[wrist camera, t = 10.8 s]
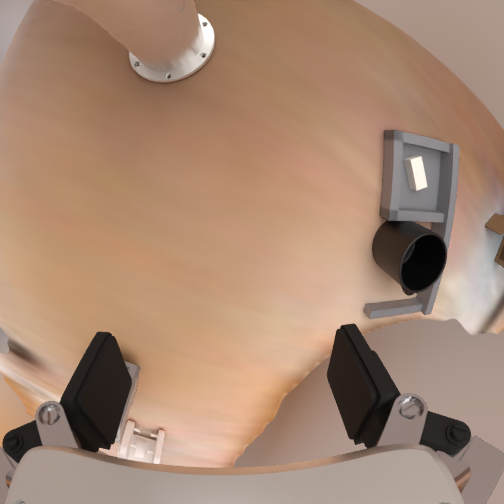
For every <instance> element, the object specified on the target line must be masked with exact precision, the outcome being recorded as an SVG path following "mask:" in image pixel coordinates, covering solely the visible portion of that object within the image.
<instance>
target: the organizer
mask: <svg viewBox="0 0 504 504" xmlns="http://www.w3.org/2000/svg"><path fill="white" fill-rule="evenodd" d="M412 156H421V157H422V161H423V166H424V171H425V176H426V182H427V187H426V188H423V189H420V190H417V191H416V190H413V189H410V187H409V182H408V177H407V172H406V167H405V163H404V159H405V158H408V157H412ZM458 169H459V145H456V144H451V143H447V142H443V141H439V140H436V139H432V138H428V137H424V136H420V135H416V134H411V133H407V132H402V131H397V130H386V131H384V161H383V181H382V195H381V207H380V216H381V217H383V218H385V219H387V220H389V221H419V222H432V228H431V231H433V232H435V233H437V234H438V235H440V236H441V237H442V239H443V240H444V242H445V244H446V248H447V251H448V247H449V241H450V236H451V230H452V224H453V218H454V211H455V203H456V194H457V183H458ZM442 273H443V272H442ZM441 277H442V274H441V276H440V277H439V279H438V280H437V281H436V283H435V284H434V285H433V286H431V287H430V288H429V289H427V290H425V291H423V292H419V293H418V294H417V298H412V299H405V300H397V301H389V302H380V303H371V304H366V305H365V309H364V312H365V314H366V315H367V316H368V318H369V319H374V318H381V317H388V316H395V315H401V314H407V313H413V312H419V311H421V312H422V313H423V314H424V315H428V314H431V311H432V308H433V305H434V302H435V299H436V295H437V292H438V288H439V285H440V281H441Z"/></svg>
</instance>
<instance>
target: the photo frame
mask: <svg viewBox="0 0 504 504" xmlns="http://www.w3.org/2000/svg"><path fill="white" fill-rule="evenodd" d="M485 226H486V227H487V228H489V229H491V230H492V231H494V232H496V233H497V234H504V215H498V214H494V215H493V216H492V217H491V218H490V220H489V221H488V222H487V223H486V224H485ZM494 261H495V262H497V263H498V264H499V265H501V266H502V267H504V237H503V240H502V242H501V245H500V248H499V250H498V252H497V255H496V257H495V260H494Z"/></svg>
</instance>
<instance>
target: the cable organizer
mask: <svg viewBox="0 0 504 504" xmlns="http://www.w3.org/2000/svg"><path fill="white" fill-rule="evenodd" d="M134 431H137V432H140V431H141V429H140V430H139V429H136V428H135V422H133V421H130V420H128V421H127V424H126V427H125V431H124V434H123V438H122V441H121V445H120V446H119V448H118V451H117V452H118V458H123V459H128V460H134V461H140V462H146V463H154V464H160V462H161V457H162V450H163V445H164V439H165V431H163V430H159V432H158V435H155V434H152V433H151V434H150V436H152V437H156V438H157V439H156V441H155V440H152V439H149V438H145V437H142V436H139V435H136V434H134ZM151 432H152V431H151ZM139 434H140V433H139Z"/></svg>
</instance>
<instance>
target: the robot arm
mask: <svg viewBox="0 0 504 504" xmlns="http://www.w3.org/2000/svg"><path fill="white" fill-rule="evenodd" d="M51 1H55V2H58V3H62V4H65V5H68V6H70V7H73V8H75V9H77V10H78V11H80V12H82V13H83V14H85V15H86V16H88V17H89V18H90V19H92V20H93V21H94V22H96V23H97V24H98V25H99V26H100V27H102V28H103V29H104V30H105V31H106V32H108V33H109V34H110V35H111V36H112V37H113V38H115V39H116V40H117V41H118V42H119V43H120V44H122V45H123V46H124V47H125V48H126V49H127V50H128V51H129V60H130V64H131V65H132V67H133V69H134V70H135V71H136V72H137V73H138V74H139V75H140V76H141V77H143V78H145V79H147V80H149V81H153V82H159V83H167V82H174V81H178V80H181V79H184V78H186V77H189V76H190V75H192V74H194V73H195V72H197V71H198V70H199V69H200V68H202V67H203V66H204V65H205V63H206V62H207V61H208V60H209V58H210V57H211V55H212V53H213V50H214V47H215V33H214V29H213V27H212V25H211V23H210V22H209V21H208V20H207V19H206V18H205V17H203V16H202V15H200V14H198V13H197V9H196V6H195V2H194V0H51ZM204 26H205V27H204ZM203 56H206V57H205V58H202V57H203ZM139 64H140V65H139ZM138 65H139V66H138ZM137 66H138V67H137ZM169 76H171V77H170V78H168V77H169ZM327 378H328V381H329V384H330V387H331V390H332V392H333V395H334V398H335V400H336V403H337V406H338V409H339V412H340V414H341V417H342V420H343V423H344V425H345V428H346V431H347V434H348V437H349V438H350V439H353V440H354V443H355V445H357V444H360V443H364V444H365V446H366V447H367V449H364V450H360V451H355V452H351V453H347V454H342V455H338V456H333V457H328V458H323V459H317V460H311V461H305V462H298V463H291V464H283V465H273V466H261V467H244V468H201V467H183V466H171V465H162V464H154V463H146V462H140V461H134V460H128V459H123V458H118V457H113V456H108V455H103V454H99V453H98V450H99V448H103V449H108V450H110V447H111V444H114V443H115V439H116V436H117V432H118V429H119V425H120V422H121V418H122V415H123V412H124V408H125V405H126V402H127V399H128V395H129V392H130V389H131V386H132V379H131V376H130V374H129V371H128V369H127V367H126V364H125V362H124V359H123V357H122V354H121V351H120V349H119V346H118V343H117V341H116V338H115V337H114V336H112V334H111V333H109V332H97V333H96V335H95V337H94V338H93V340H92V342H91V343H90V345H89V347H88V349H87V350H86V352H85V354H84V356H83V357H82V359H81V361H80V363H79V365H78V367H77V368H76V370H75V372H74V374H73V376H72V378H71V380H70V382H69V384H68V386H67V388H66V389H65V391H64V393H63V395H62V398H61V401H60V403H58V402H55V401H48V402H45V403H43V404H42V405H40V406H39V407H38V409H37V411H36V414H35V417H36V420H34V421H32V422H30V423H28V424H25V425H23V426H21V427H18V428H16V429H13V430H11V431H9V432H8V433H7V434H6V435H5V437H4V439H3V447H2V448H1V447H0V504H486V503H487V501H488V499H489V497H490V496H491V494H492V492H493V490H494V488H495V486H496V485H497V482H498V481H499V479H500V476H501V475H502V473H503V470H504V453H503V452H502V451H500V450H498V449H497V448H495V447H493V446H492V445H490V444H488V443H487V442H485V441H484V440H482V439H481V438H479V437H477V436H476V435H475V436H474V437H472V436H471V432H470V429H469V427H468V426H467V425H466V424H465V423H464V422H461V421H459V420H455V419H452V418H448V417H446V416H442V415H439V414H436V413H433V412H430V411H427V410H428V407H427V404H426V402H425V401H424V399H423V398H421V397H420V396H418V395H416V394H411V393H407V394H403V395H401V394H400V392H399V391H398V389H397V387H396V386H395V384H394V382H393V380H392V379H391V377H390V375H389V373H388V372H387V370H386V368H385V367H384V365H383V363H382V362H381V360H380V358H379V357H378V355H377V354H376V352H375V351H371V349H370V347H369V346H368V344H367V342H366V341H365V339H364V337H363V336H362V334H361V332H360V331H359V329H358V328H357V326H356V325H355V324H348V325H342V326H341V327H340V329H337V331H336V335H335V340H334V345H333V350H332V354H331V359H330V364H329V367H328V371H327Z"/></svg>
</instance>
